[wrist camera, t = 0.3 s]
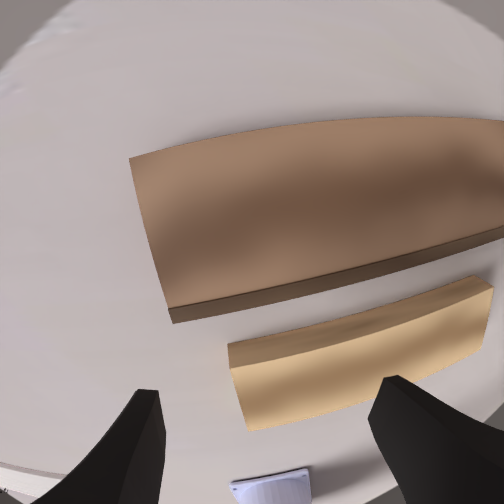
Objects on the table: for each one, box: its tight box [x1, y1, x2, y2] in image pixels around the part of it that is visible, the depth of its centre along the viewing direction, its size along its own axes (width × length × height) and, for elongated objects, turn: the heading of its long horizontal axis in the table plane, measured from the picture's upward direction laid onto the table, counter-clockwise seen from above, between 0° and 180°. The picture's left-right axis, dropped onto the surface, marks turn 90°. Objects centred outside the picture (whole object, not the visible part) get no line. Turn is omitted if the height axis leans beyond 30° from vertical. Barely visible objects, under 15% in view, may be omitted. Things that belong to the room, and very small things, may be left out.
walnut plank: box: [129, 117, 504, 324], centre depth 15 cm, size 8×24×3 cm, turn 100°
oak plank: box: [228, 275, 494, 432], centre depth 19 cm, size 6×20×3 cm, turn 99°
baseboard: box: [0, 462, 67, 498], centre depth 23 cm, size 30×3×10 cm
